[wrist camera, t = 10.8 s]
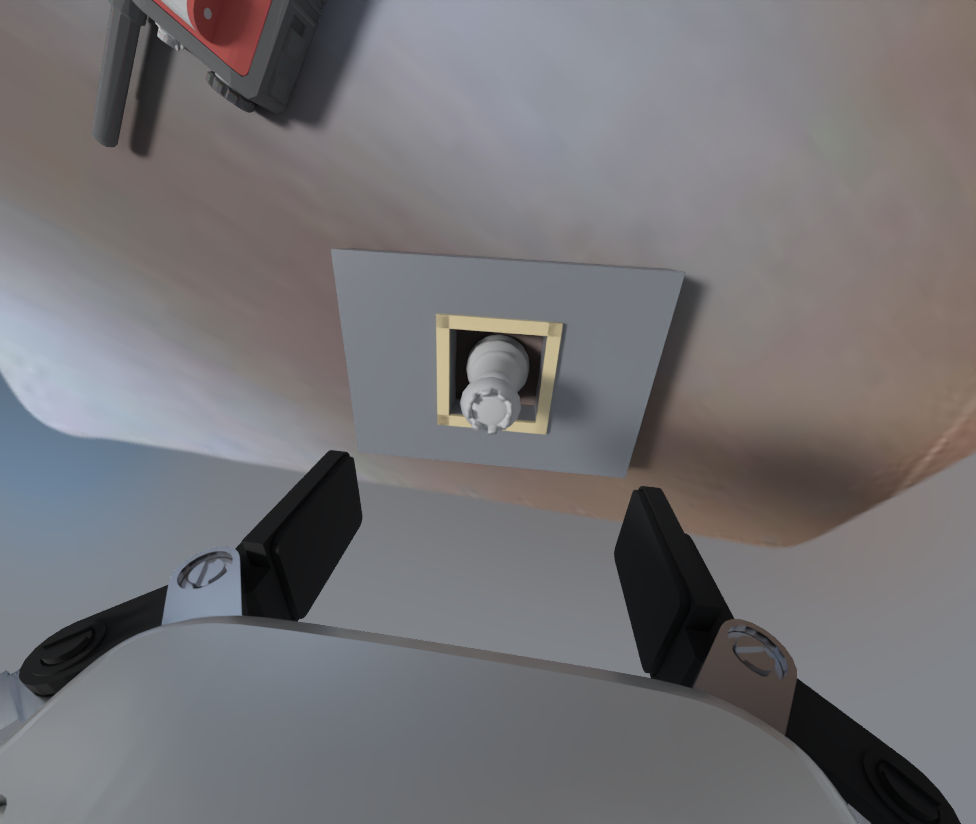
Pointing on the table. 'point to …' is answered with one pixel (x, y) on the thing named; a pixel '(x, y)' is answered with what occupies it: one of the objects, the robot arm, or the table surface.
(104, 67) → the red gray switch box
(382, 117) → the table surface
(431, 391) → the socket board
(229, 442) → the table surface
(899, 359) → the table surface
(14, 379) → the table surface
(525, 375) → the rook chess piece
